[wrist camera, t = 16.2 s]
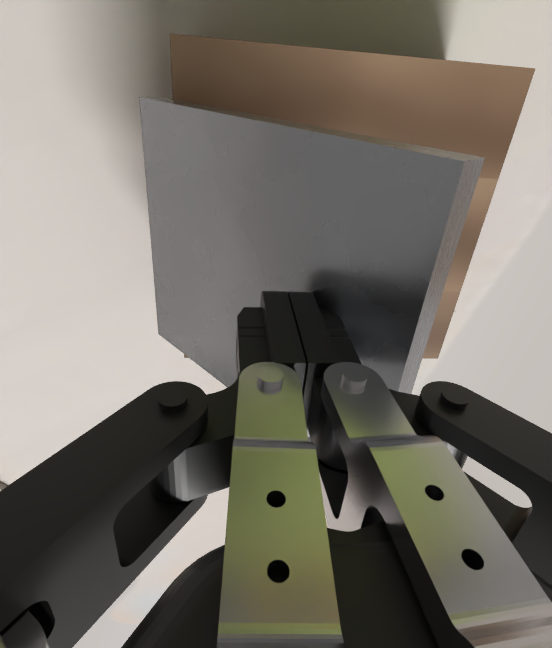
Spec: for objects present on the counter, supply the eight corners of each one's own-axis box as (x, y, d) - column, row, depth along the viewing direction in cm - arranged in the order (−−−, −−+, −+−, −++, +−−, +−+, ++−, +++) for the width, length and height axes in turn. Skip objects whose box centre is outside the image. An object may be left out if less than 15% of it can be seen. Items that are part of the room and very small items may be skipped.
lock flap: (176, 327, 21) (158, 333, 20) (163, 97, 16) (139, 97, 15) (384, 478, 14) (367, 495, 13) (484, 157, 9) (464, 161, 8)
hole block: (187, 43, 22) (169, 33, 15) (445, 67, 23) (535, 68, 17) (194, 288, 29) (184, 357, 22) (390, 293, 31) (437, 358, 24)
